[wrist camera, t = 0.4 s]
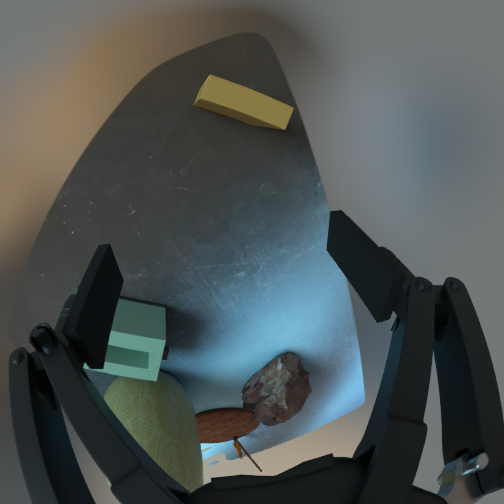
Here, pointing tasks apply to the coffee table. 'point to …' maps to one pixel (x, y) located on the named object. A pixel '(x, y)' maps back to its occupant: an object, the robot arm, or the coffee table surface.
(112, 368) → the toaster
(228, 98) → the toast
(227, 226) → the coffee table surface
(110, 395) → the vase
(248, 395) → the mineral specimen
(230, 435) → the incense holder
